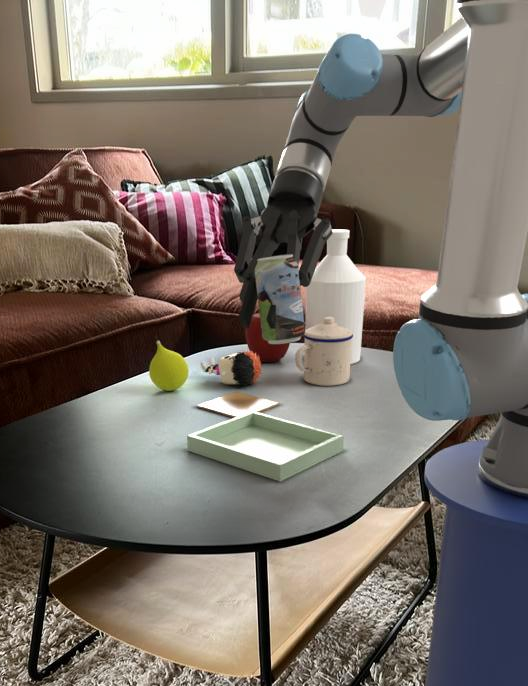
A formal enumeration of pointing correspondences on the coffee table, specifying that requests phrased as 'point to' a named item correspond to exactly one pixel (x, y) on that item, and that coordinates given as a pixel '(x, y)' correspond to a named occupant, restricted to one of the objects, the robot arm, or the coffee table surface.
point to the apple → (263, 342)
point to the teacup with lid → (326, 354)
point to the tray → (265, 445)
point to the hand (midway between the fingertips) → (257, 323)
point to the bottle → (337, 291)
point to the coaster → (237, 404)
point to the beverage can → (280, 298)
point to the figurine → (236, 368)
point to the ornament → (168, 369)
